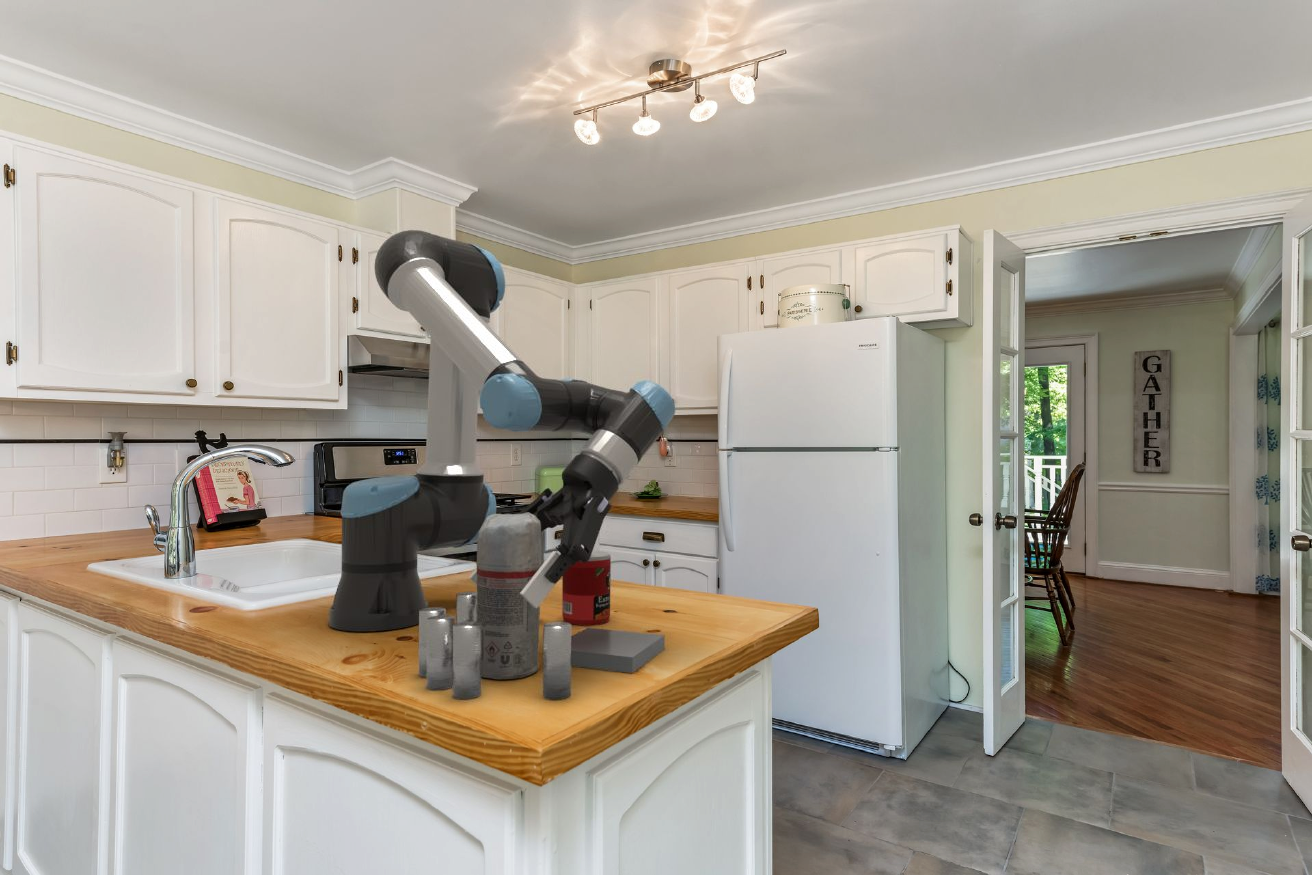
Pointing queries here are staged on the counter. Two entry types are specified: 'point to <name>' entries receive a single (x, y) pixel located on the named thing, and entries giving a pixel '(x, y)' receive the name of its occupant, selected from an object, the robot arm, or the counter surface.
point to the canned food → (587, 591)
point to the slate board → (614, 649)
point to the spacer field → (457, 651)
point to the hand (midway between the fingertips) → (500, 592)
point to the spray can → (508, 594)
